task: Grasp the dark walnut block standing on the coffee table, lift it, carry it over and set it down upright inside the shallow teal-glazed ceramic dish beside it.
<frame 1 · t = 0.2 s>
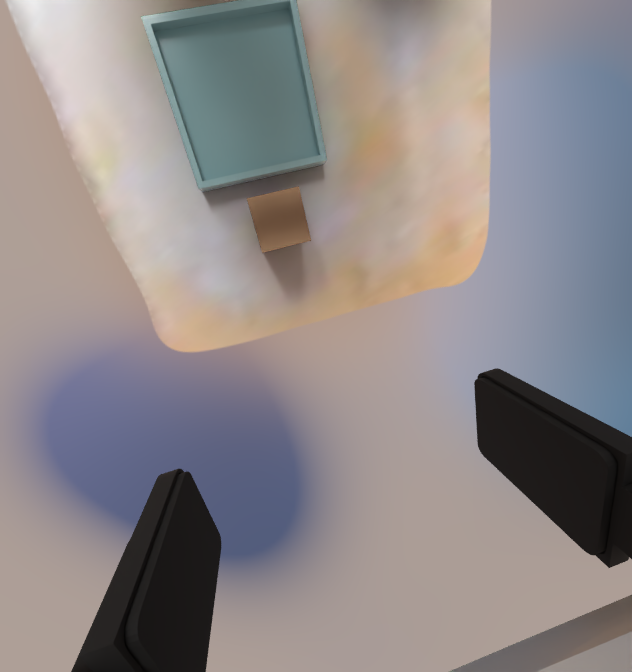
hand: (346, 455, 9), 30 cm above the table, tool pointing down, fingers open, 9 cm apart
walnut block: (276, 224, 35), on the table
teal dish: (244, 104, 31), on the table
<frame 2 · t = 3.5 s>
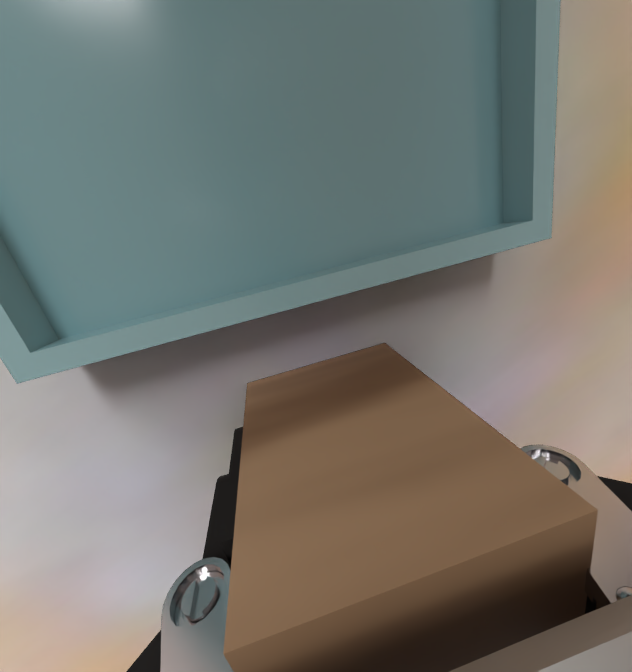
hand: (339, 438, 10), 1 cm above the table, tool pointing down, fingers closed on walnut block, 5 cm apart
walnut block: (332, 421, 11), on the table, touching gripper
teal dish: (227, 8, 7), on the table
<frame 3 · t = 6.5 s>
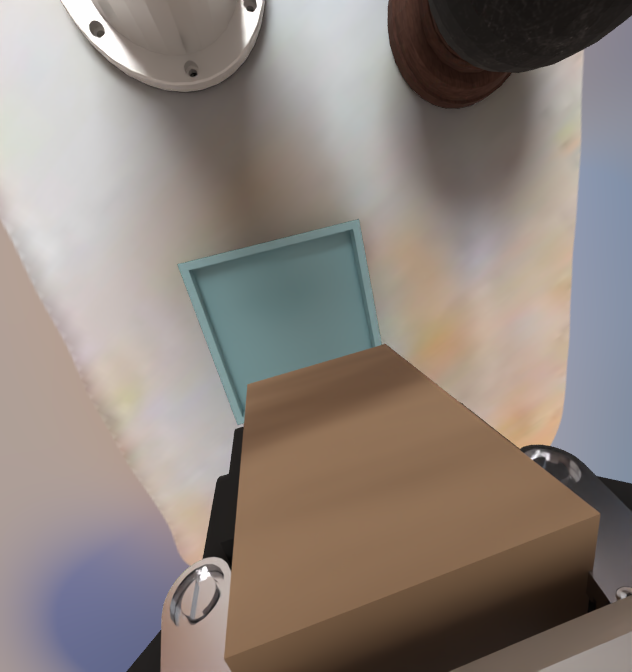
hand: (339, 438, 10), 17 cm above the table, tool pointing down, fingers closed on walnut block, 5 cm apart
walnut block: (332, 422, 11), point 16 cm above the table, touching gripper
black ball on stand: (456, 23, 22), on the table
teal dish: (292, 322, 26), on the table
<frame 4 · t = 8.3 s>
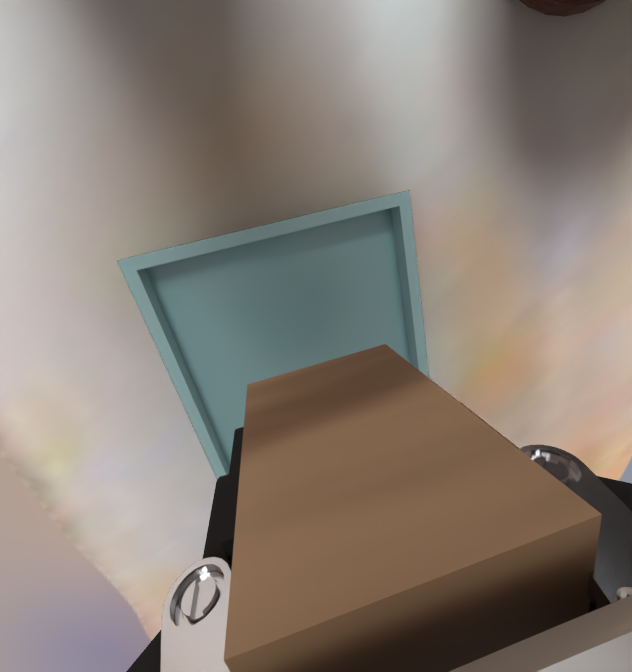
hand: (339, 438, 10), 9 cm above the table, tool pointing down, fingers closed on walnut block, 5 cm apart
walnut block: (333, 422, 11), point 8 cm above the table, touching gripper
teal dish: (300, 344, 18), on the table
when the fingers open (3 cm above the table, at t = 9.8 s): walnut block stays where it is, resting on teal dish.
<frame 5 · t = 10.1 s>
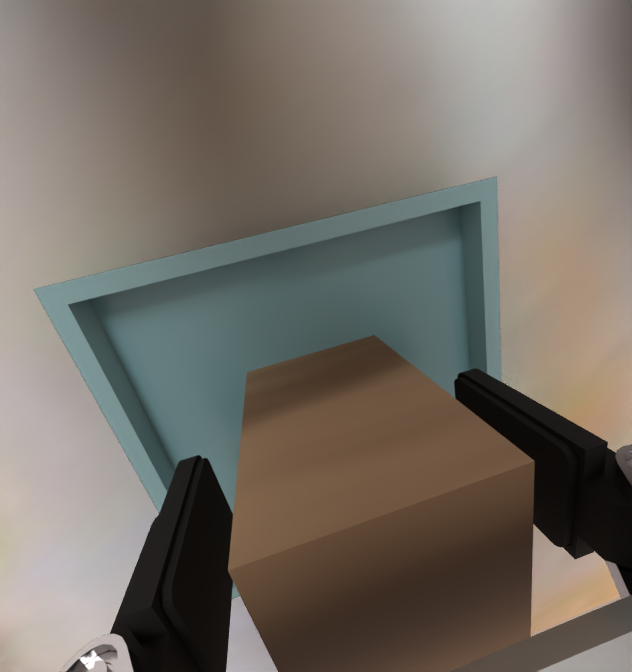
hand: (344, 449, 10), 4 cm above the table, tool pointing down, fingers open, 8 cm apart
walnut block: (326, 408, 12), point 1 cm above the table, touching teal dish
teal dish: (322, 396, 13), on the table
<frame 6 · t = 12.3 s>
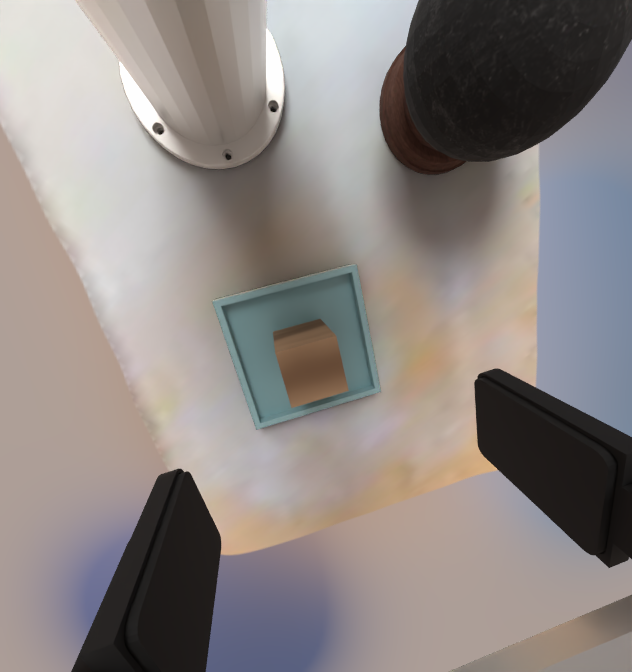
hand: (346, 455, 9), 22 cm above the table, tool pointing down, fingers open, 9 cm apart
walnut block: (302, 347, 30), point 1 cm above the table, touching teal dish
black ball on stand: (434, 110, 28), on the table
teal dish: (301, 345, 31), on the table
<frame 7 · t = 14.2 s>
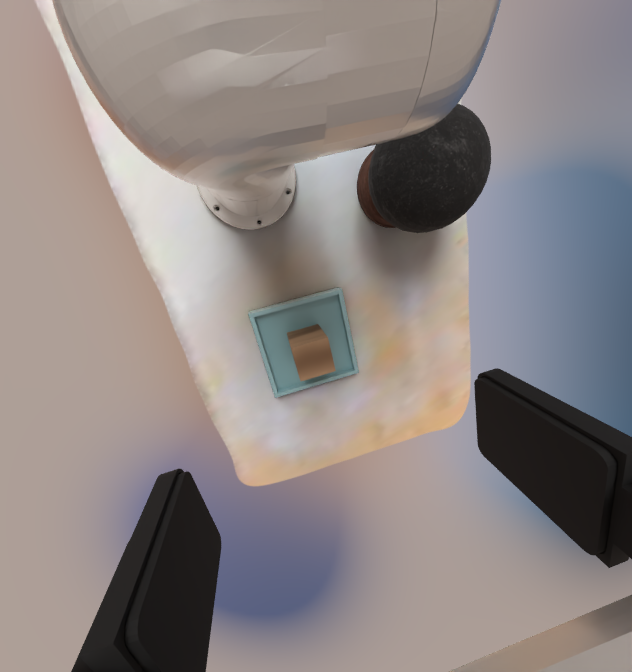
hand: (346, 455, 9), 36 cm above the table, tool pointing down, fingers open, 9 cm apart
walnut block: (306, 343, 46), point 1 cm above the table, touching teal dish
black ball on stand: (393, 186, 42), on the table
teal dish: (305, 341, 46), on the table
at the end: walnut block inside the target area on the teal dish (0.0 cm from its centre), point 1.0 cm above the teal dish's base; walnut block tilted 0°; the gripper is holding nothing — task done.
